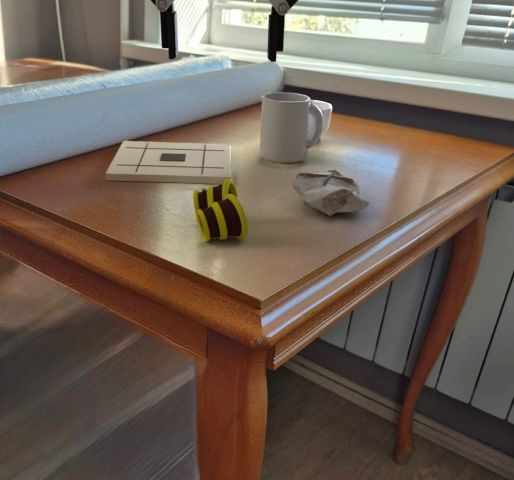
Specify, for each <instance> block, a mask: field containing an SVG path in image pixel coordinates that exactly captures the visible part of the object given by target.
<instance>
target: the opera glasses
mask: <svg viewBox="0 0 514 480" xmlns="http://www.w3.org/2000/svg"><path fill="white" fill-rule="evenodd" d="M192 198H193V207H194V212H195V219H196V223H197V226H198V229H199V233H200V236H201V237H202V240H203V242H205V243H207V242H209V241H210V240H211V239H213V240H217V239H219V240H226V239H227V238H233V237H235V238H236V239H238V240H243V239H246V237H247V235H248V232H249V222H248V217H247V214H246V211H245V209H244V207H243V205H242V203H241V202H240V200H239V199H238V192H237V188H236V184H235V183H234V181H233V180H232V178H231V179H226V180H224V182H223V184H217V185H214V184H213V185H210V186H208V187H207V188H206V189H205V188H203V189H202V190H201V191H200V190H199V189H197V190H193V193H192Z"/></svg>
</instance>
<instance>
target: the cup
mask: <svg viewBox="0 0 514 480" xmlns="http://www.w3.org/2000/svg"><path fill="white" fill-rule="evenodd" d="M310 100H311V97H310V96H309V95H305V94H301V93H295V92H283V91H281V92H280V91H276V92H267V93H264V94H262V96H261V114H260V115H261V116H260V135H259V136H260V139H259V155H260V157H261V158H262V159H263V160H264V161H267V162H271V163H276V164H295V163H300V162H302V161H303V160H304V159H305V158H306V151H307V149H310V148H312V147H314V146H315V145H316V144H317V143H318V142H319V140H320V139H321V137H320V136H321V133H322V127H323V118H322V113H321V110H320V109H319V107H318V106H317V105H315V104H313V103H310ZM309 114H311V115H312V117H313V129H312V132H311V135H310V136H309V137H308V138H307V129H308V118H309Z"/></svg>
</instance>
